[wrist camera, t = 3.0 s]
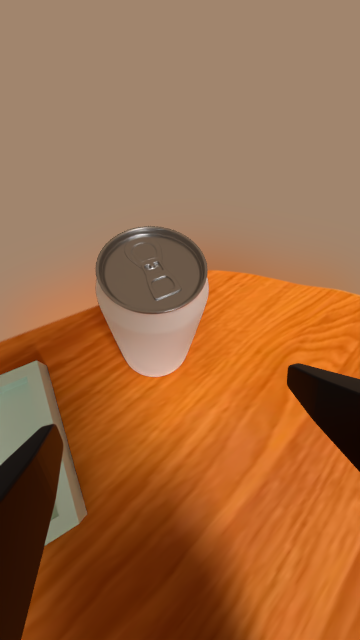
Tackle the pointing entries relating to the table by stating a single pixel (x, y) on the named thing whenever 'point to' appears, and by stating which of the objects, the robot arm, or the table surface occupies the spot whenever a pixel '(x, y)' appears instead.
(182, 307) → the can
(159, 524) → the table surface
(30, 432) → the tray
